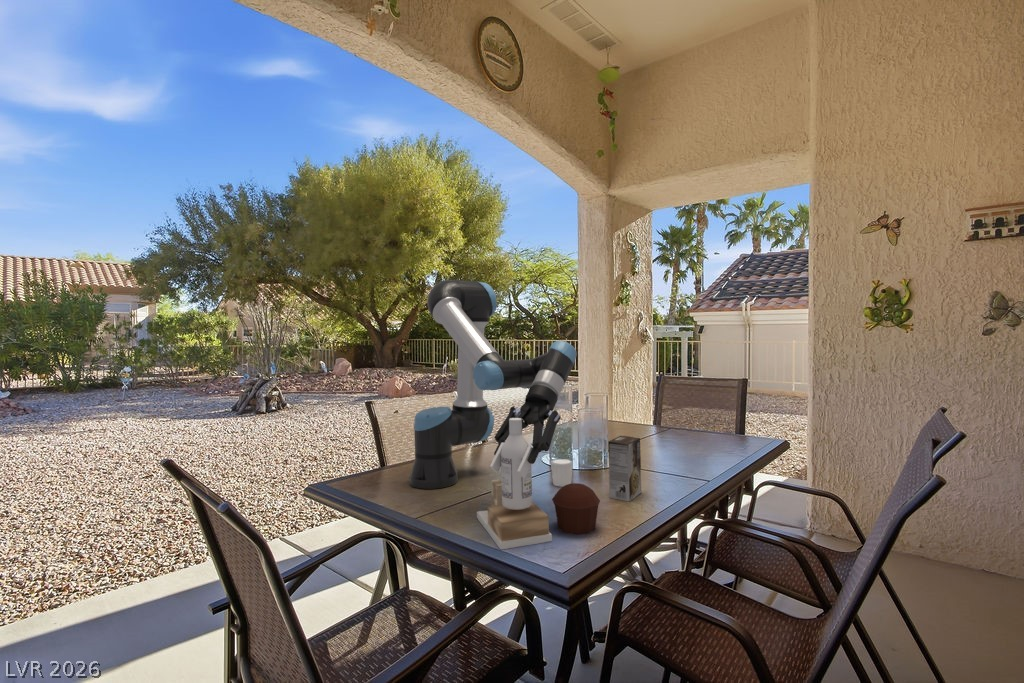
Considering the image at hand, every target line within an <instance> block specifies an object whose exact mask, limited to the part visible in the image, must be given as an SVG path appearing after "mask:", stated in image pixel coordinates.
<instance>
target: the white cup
mask: <svg viewBox="0 0 1024 683" xmlns="http://www.w3.org/2000/svg"><path fill="white" fill-rule="evenodd" d="M573 462H574V461H572V460H571V459H565V458H557V459H553V460H550V466H551V467H550V469H551V477H552V485H553V486H556V487H560V488H562V487H563V486H565V485H568V484H572V479H573V475H572V474H573V466H574V463H573Z"/></svg>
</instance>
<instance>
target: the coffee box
mask: <svg viewBox="0 0 1024 683" xmlns="http://www.w3.org/2000/svg"><path fill="white" fill-rule="evenodd" d="M607 443H608V445H607V446H608V490H609V493H608V494H609V498H610V499H614V500H619V501H624V502H631V501H633V500H634V499H635V498H636V497H638V496H639V495H640V494H641V493H642V465H641V464H642V463H641V462H642V461H641V438H640V437H633V436H627V435H619V436H616V437H615V438H612V439H611V440H608V442H607Z"/></svg>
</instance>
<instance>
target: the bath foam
mask: <svg viewBox="0 0 1024 683" xmlns="http://www.w3.org/2000/svg"><path fill="white" fill-rule="evenodd" d="M509 433H510V434H509V436H508V438H507V439H506V440H505V443H504V445H503V447H502V452H501V467H500V470H501V472H500V473H501V479H502V505H503V506H504V507H505V508H508V509H513V510H520V509H526V508H528V507H530V506H531V504H532V502H533V488H532V487H533V481H532V477H533V476H532V465H531V466H530V468H529V470H528V473H527V475H526V477H525V478H522V477H521V475H520V474H519V473H518V472H517V470H518V468H519V466H520V464H521V461H522V459H523V457H524V455H525V453H526V450H527V448H528V446H530V445H529V443H528V441H527V440H526V437H525V436H524V435H523V430H522V419H521V418H510V419H509Z"/></svg>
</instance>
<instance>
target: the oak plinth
mask: <svg viewBox="0 0 1024 683" xmlns="http://www.w3.org/2000/svg"><path fill="white" fill-rule="evenodd" d="M487 510H488V524H489V525H490V527H491V528H492V529H493V531H494V532H495V533H496V534H497V536H498V537H499V538H500V540H501V541H508V540H514V539H520V538H527V537H533V536H539V535H545V534H549V532H550V528H549V526H550V525H549V524H550V521H549V515H548V514H547V513H546V512H545V511H543V510H542V509H541V508H540V507H539V506H537V505H536V504H535V503H534V502H533V501H532V504H531V506H530V507H528V508H526V509H520V510H513V509H508V508H505V507H504V506H503V505H496V506H492V505H490V506H487Z"/></svg>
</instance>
